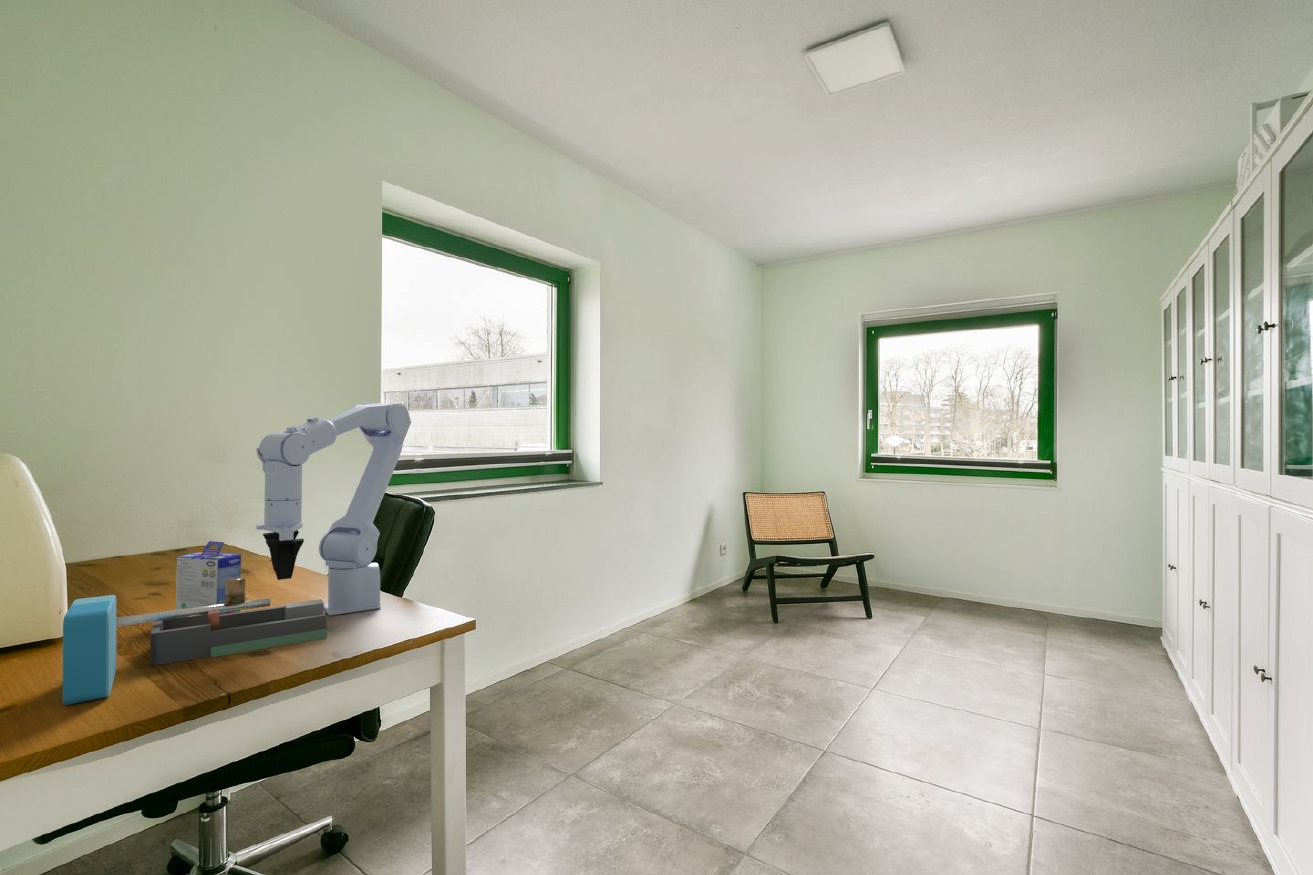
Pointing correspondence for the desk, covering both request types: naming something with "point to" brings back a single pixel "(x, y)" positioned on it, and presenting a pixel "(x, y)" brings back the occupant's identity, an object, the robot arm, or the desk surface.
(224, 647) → the pitch
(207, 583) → the ink cartridge box
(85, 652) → the blue flat block
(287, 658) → the desk surface
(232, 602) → the kicker
